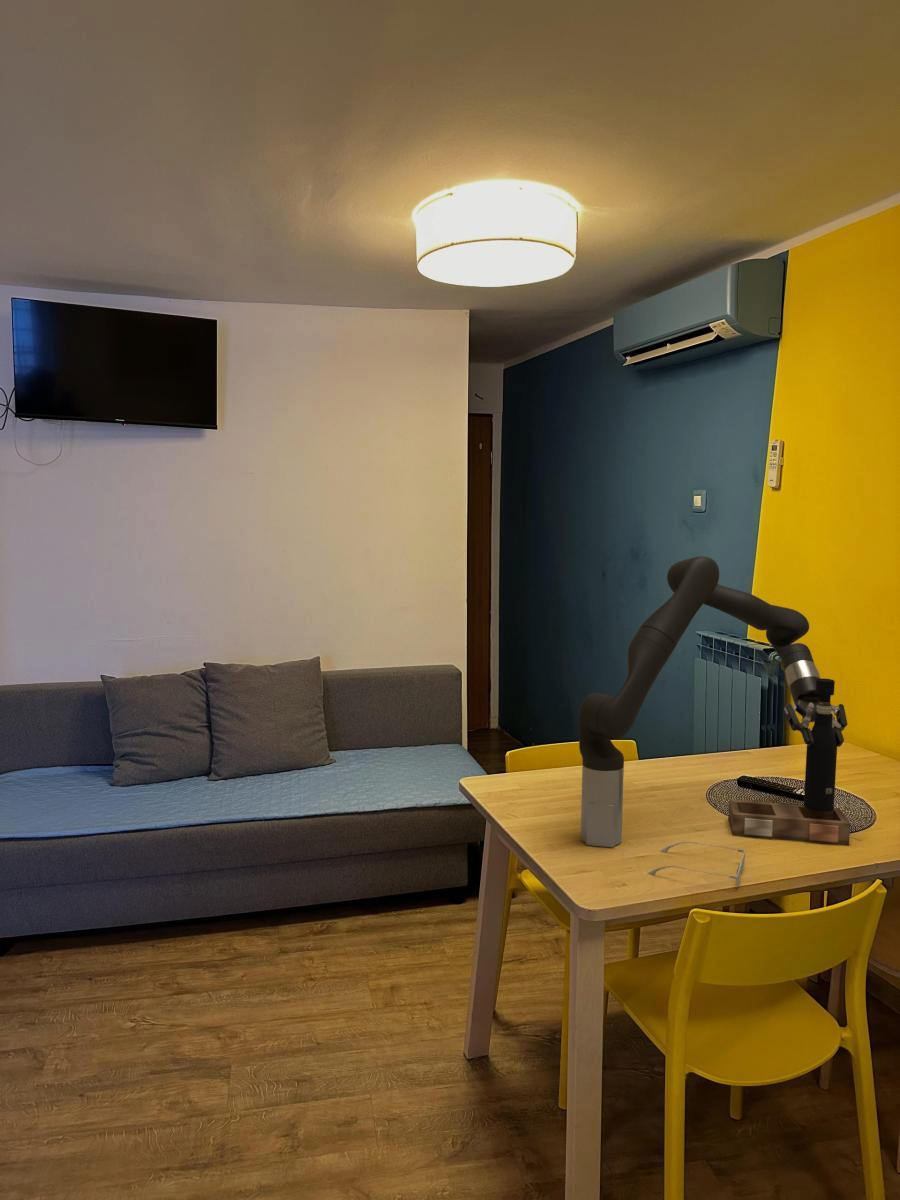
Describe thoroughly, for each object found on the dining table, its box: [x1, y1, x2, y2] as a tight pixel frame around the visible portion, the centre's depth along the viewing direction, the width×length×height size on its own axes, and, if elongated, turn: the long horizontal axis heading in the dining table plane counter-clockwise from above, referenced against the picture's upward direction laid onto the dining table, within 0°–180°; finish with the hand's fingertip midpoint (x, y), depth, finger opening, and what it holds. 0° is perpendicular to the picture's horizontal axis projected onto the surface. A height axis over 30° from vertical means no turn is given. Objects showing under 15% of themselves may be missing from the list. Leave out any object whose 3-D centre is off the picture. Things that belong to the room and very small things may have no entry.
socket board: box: [727, 799, 851, 846], centre depth 200 cm, size 25×12×5 cm, turn 77°
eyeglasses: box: [647, 841, 746, 889], centre depth 178 cm, size 15×18×4 cm
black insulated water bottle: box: [803, 678, 838, 812], centre depth 198 cm, size 6×6×30 cm
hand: (825, 744), depth 196 cm, fingers closed on black insulated water bottle, 6 cm apart
